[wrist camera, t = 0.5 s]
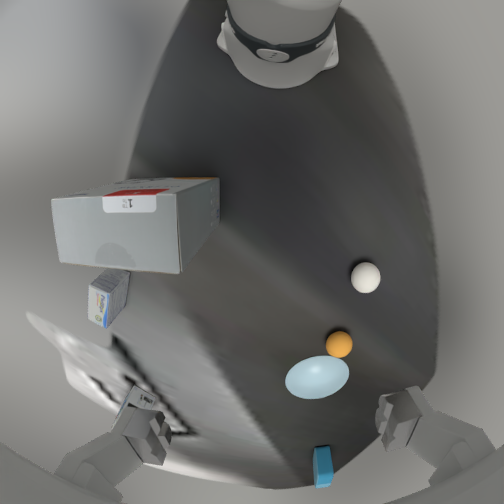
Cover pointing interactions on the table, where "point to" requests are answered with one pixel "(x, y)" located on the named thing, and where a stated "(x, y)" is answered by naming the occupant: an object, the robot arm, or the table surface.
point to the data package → (322, 467)
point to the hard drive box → (137, 223)
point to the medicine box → (107, 296)
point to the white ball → (365, 277)
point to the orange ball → (339, 344)
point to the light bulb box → (137, 401)
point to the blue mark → (317, 377)
